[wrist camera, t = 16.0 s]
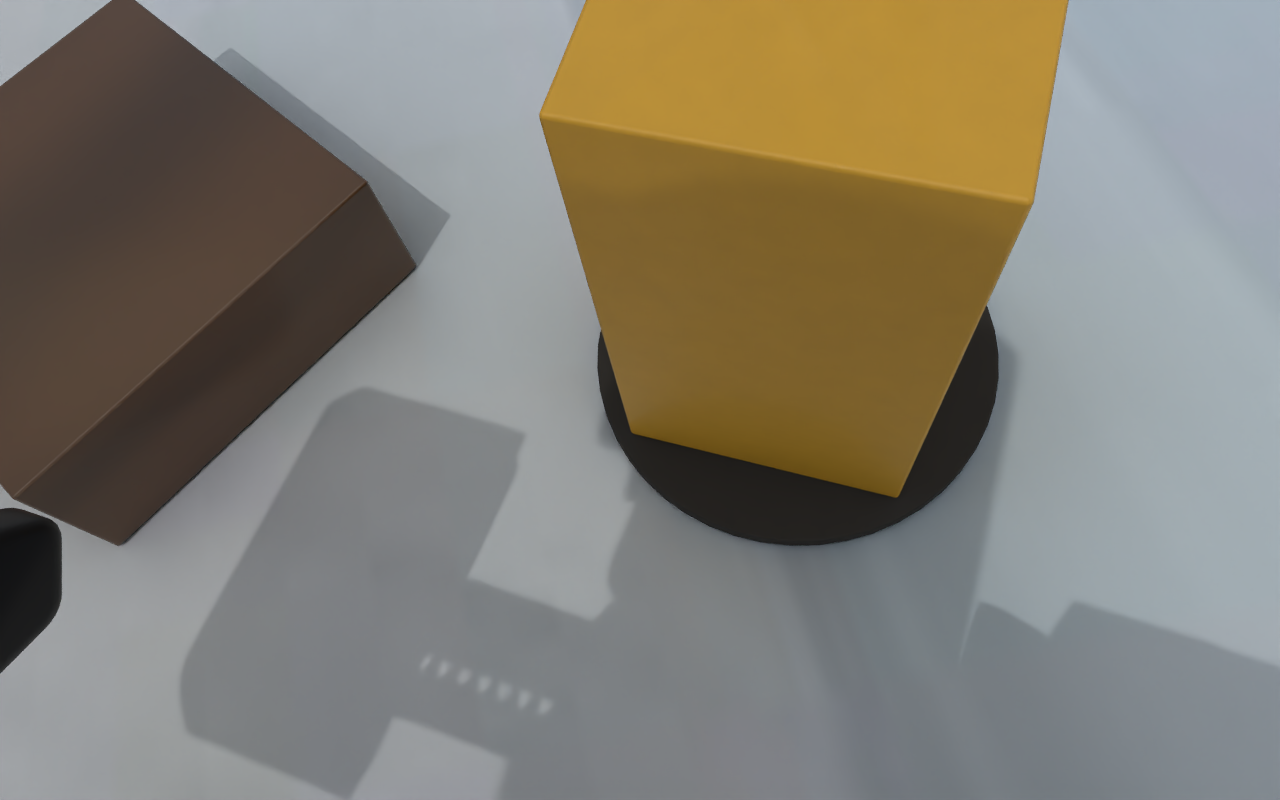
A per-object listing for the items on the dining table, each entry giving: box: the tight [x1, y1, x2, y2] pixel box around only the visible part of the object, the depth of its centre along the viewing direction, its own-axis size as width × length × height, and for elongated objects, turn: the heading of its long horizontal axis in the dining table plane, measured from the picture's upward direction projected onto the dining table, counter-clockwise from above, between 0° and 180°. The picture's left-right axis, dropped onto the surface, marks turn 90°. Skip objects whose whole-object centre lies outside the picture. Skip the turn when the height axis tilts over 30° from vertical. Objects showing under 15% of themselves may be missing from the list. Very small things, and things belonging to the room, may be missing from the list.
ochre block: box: [539, 0, 1069, 497], centre depth 15 cm, size 5×5×9 cm
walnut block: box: [0, 0, 416, 546], centre depth 20 cm, size 8×8×3 cm
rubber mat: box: [598, 305, 998, 545], centre depth 19 cm, size 8×8×1 cm
